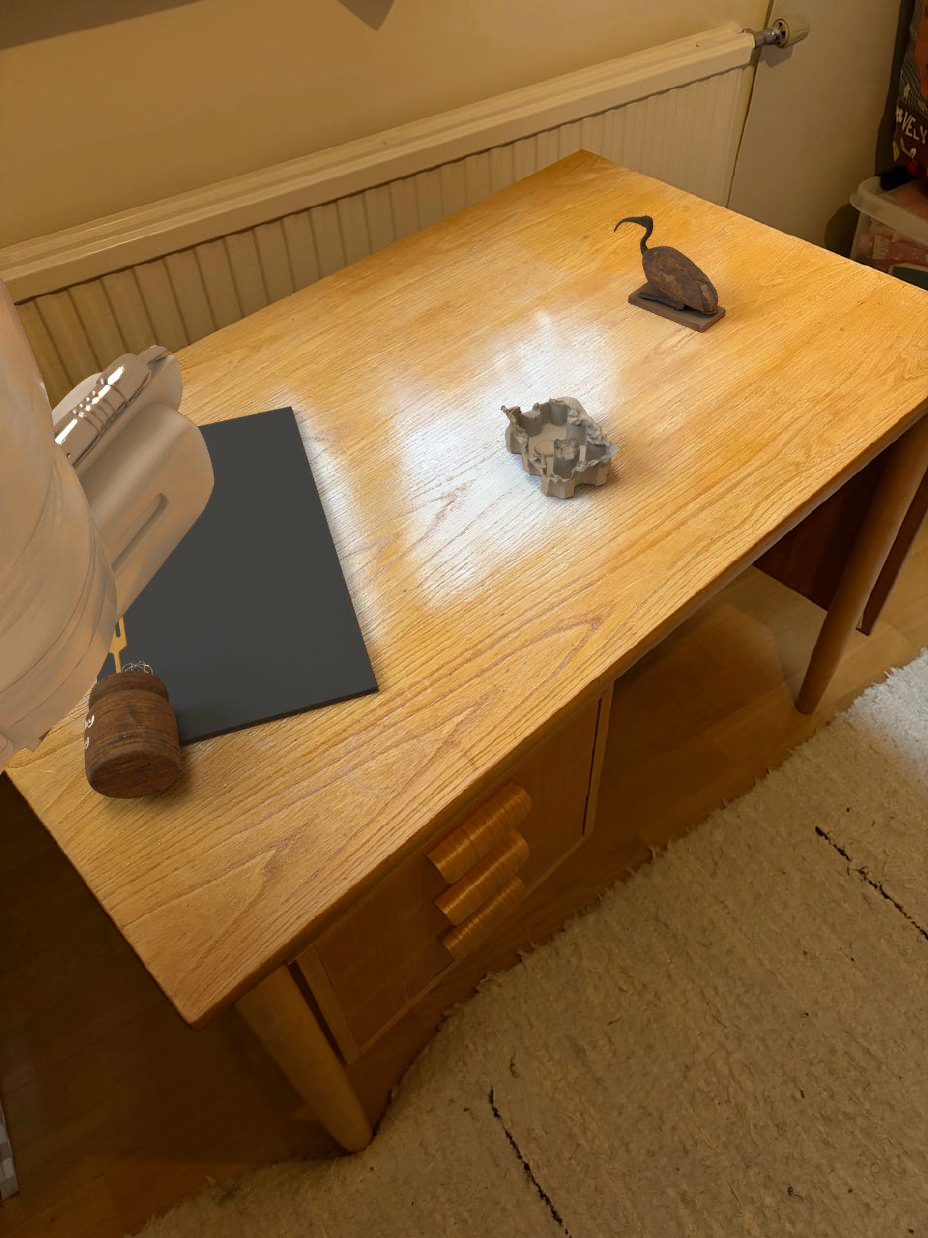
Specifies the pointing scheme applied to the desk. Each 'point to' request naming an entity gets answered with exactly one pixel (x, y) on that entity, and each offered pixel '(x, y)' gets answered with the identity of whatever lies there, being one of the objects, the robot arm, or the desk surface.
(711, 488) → the desk surface
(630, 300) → the figurine
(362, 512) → the desk surface
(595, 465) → the egg carton
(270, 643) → the desk mat
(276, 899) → the desk surface
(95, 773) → the utensil holder
